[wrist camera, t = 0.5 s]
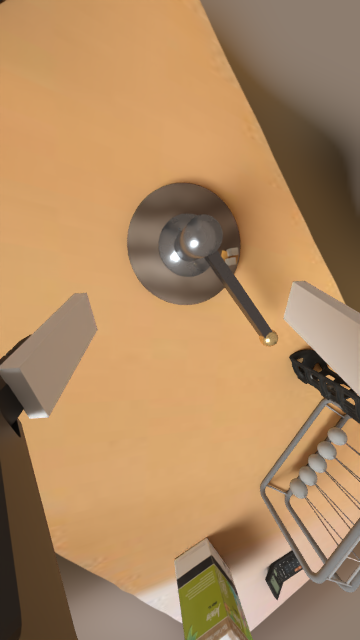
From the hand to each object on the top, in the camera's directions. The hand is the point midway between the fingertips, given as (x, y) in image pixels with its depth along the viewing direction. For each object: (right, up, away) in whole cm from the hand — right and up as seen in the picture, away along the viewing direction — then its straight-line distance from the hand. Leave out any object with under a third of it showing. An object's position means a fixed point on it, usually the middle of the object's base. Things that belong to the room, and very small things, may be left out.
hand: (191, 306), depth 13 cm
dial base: (0, +12, +24) cm, 26 cm away
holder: (+29, -12, +34) cm, 47 cm away
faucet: (+5, +6, +23) cm, 25 cm away
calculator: (+30, -74, +47) cm, 93 cm away
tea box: (+5, -64, +40) cm, 76 cm away
